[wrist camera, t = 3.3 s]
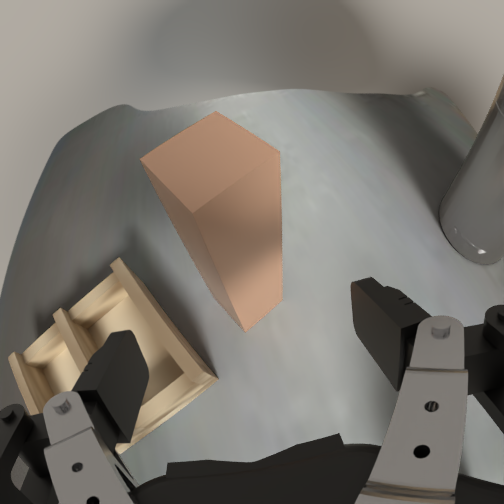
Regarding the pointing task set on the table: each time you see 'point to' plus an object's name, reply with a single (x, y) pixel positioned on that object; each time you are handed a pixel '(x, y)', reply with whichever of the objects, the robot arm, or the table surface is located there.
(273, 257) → the clay bar
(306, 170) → the table surface
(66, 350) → the rack
